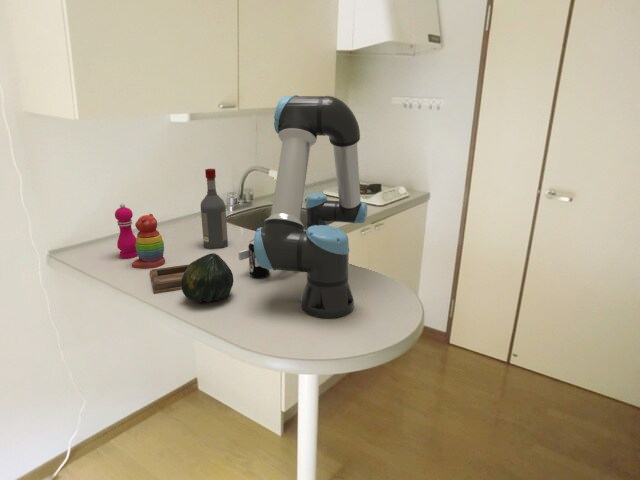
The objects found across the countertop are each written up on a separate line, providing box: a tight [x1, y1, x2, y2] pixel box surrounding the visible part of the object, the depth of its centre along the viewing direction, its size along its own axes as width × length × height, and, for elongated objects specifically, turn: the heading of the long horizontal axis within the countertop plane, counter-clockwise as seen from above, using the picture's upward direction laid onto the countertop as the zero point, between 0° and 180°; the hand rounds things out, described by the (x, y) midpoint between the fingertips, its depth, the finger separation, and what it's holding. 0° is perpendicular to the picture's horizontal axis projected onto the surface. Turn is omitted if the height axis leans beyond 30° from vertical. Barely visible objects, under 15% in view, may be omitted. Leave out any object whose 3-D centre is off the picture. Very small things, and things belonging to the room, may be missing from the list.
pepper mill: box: [114, 202, 138, 260], centre depth 177 cm, size 7×7×20 cm
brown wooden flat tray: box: [149, 263, 190, 294], centre depth 160 cm, size 18×16×3 cm
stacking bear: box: [131, 213, 166, 269], centre depth 170 cm, size 11×10×18 cm
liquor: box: [200, 168, 229, 250], centre depth 187 cm, size 9×9×30 cm
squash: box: [182, 252, 234, 303], centre depth 145 cm, size 14×15×15 cm
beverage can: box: [247, 238, 270, 279], centre depth 161 cm, size 7×7×12 cm
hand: (247, 259), depth 158 cm, fingers open, 8 cm apart
